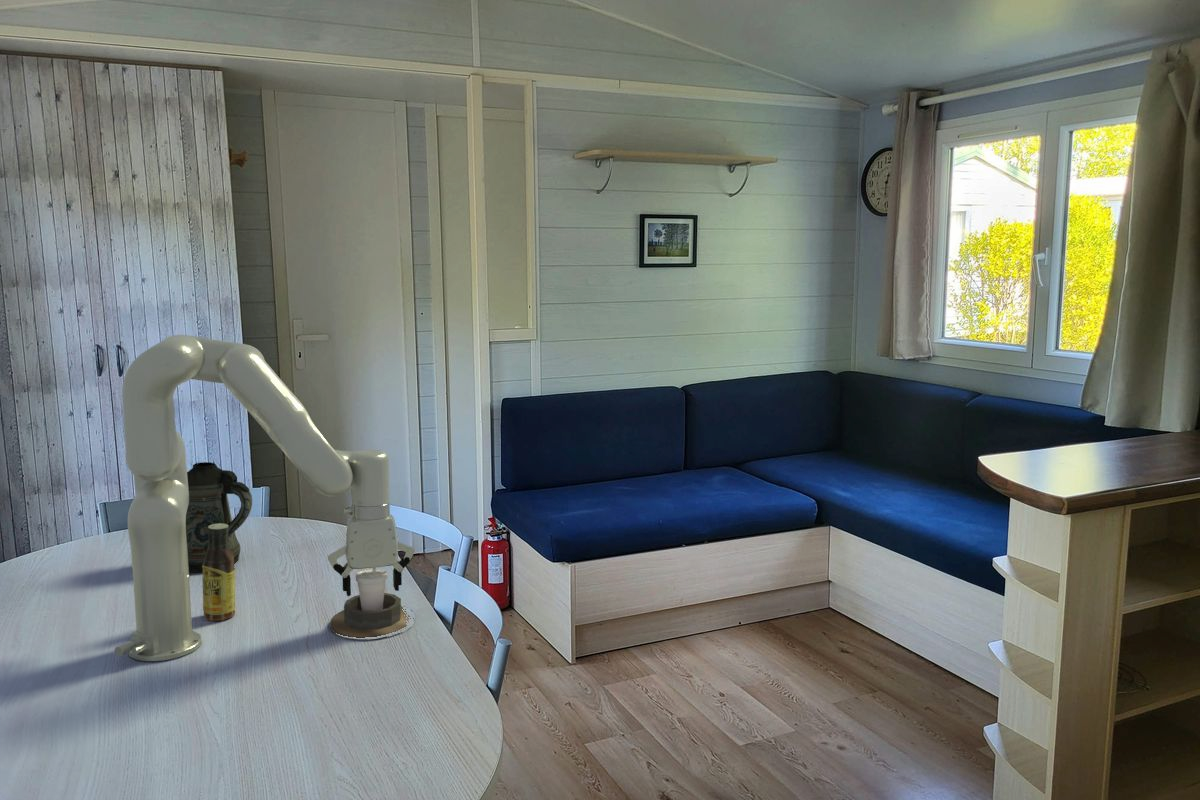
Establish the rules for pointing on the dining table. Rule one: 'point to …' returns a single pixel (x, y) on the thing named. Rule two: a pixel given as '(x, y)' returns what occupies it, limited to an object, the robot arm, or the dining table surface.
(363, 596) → the smoothie
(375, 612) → the holder
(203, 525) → the beer stein
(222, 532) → the sauce bottle
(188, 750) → the dining table surface
